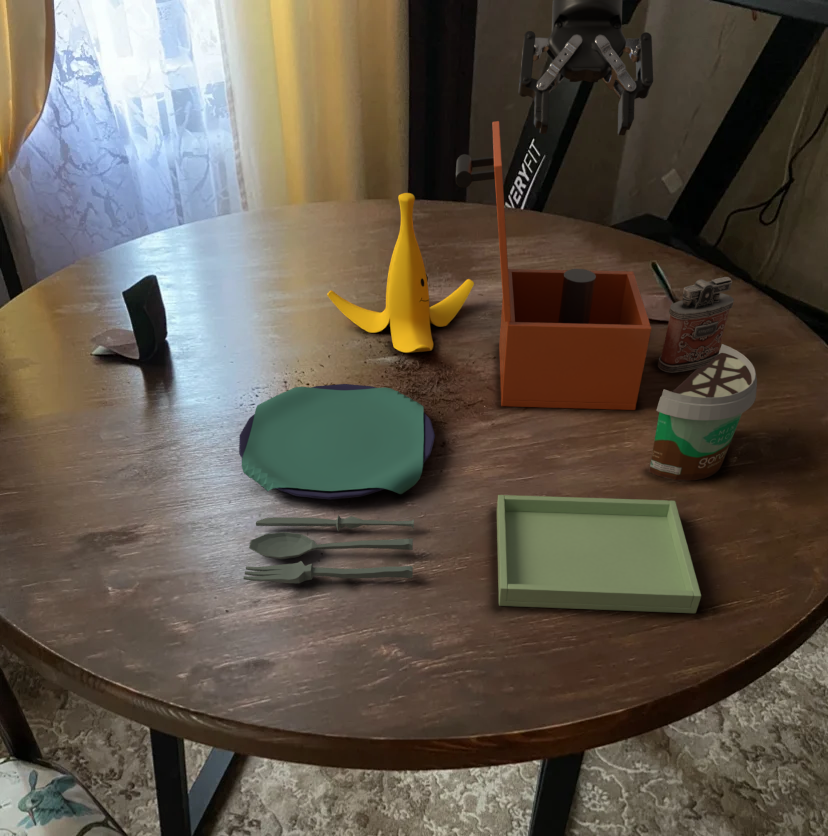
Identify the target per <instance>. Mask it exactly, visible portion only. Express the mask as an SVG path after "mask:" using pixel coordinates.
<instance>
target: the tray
mask: <svg viewBox="0 0 828 836" xmlns="http://www.w3.org/2000/svg"><path fill="white" fill-rule="evenodd" d="M496 538H497V539H496V541H497V542H496V545H497V580H498V581H497V582H498V584H497V585H498V588H497V589H498V607H499V606H500V607H518V608H519V607H521V608H548V609H572V610H573V609H574V610H575V609H577V610H596V611H597V610H598V611H626V612H646V613H647V612H648V613H649V612H651V613H674V614H675V613H676V614H677V613H678V614H697V611H698V608H699V605H700V601H701V598H702V594H701V590H700V586H699V582H698V579H697V575H696V572H695V567H694V564H693V560H692V557H691V553H690V549H689V546H688V542H687V538H686V535H685V532H684V528H683V524H682V520H681V516H680V514H679V509H678V505H677V502H676V500H667V499H665V500H664V499H638V498H637V499H635V498H608V497H575V496H574V497H573V496H547V495H546V496H545V495H544V496H543V495H518V494H517V495H516V494H498V495H497V502H496Z"/></svg>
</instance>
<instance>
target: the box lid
mask: <svg viewBox="0 0 828 836" xmlns="http://www.w3.org/2000/svg"><path fill="white" fill-rule="evenodd" d="M500 125H501V124H500V121H499V120H497V121H492V146H493V155H489V156H483V157H475V158H474V157H473V158H472V157H471V155H469V154H465V153H463V154H460V155H458V156H459V157H457V159H456V167H455V183H456V185H457V186H458V187H460V188H462V189H465V188H468V187H470V186H471V185H472V182H480V181H481V182H483V181H489V180H494V184H495V201H496V215H497V230H498V247H499V262H500V277H501V278H500V279H501V291H502V299H503V308H504V321H505V322H506V321H511V308H510V292H509V275H508V269H509V262H508V261H509V259H508V245H507V244H508V243H507V227H506V212H505V209H506V208H505V194H504V178H503V162H502V161H503V160H502V143H501V126H500ZM490 166H491V167H492V166H493V168H494V169H487V170H478V171H473V168H480V167H490Z"/></svg>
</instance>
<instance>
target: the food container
mask: <svg viewBox="0 0 828 836" xmlns="http://www.w3.org/2000/svg"><path fill="white" fill-rule="evenodd" d="M719 350H720V352H719V355H717V356H716V357H715V358H714V359H713V360H711V361H710V362H709V363H707V364H706V365H704V366H702V367H700V368H697V369H694V371H693V372H692V373H691V374H689V376H687V377H686V378H685V379H684V381H682V382H681V383H680V384H679V385H678V386H676V388H674V389H673V390H672V391H670V390H667V389H666V388H665V389H662V390H663V391H662V393H661V396H660V398H659V401H658V404H657V407H656V412H658V417H657V423H656V429H655V435H654V441H653V446H652V451H651V459H650V463H649V469H648V473H649V474H651V475H654V476H657V477H658V478H659V477H660V478H664V479H669V480H674V481H688V482H689V481H690V482H692V481H697V480H704V479H706V478H709V477H711V476H713V475H714V474H716V473H717V472H718V471H720V469H721V467H722V465H723V463H724V460H725V457H726V455H727V452H728V450H729V448H730V445H731V443H732V440H733V437H734V435H735V433H736V430H737V428H738V425H739V423H740V420H741V417H742V415H743V413H745V412H746V411H748V410H749V409H750V408H751V407H752V406H753V405H754V403H755V401H756V399H757V386H758V378H757V374H756V369H755V366H754V365H753V362H751V361H750V360H749V358H747V356H745V355H744V354H743V353H741V352H740V351H738V350H736V349H735V348H733V347H731V346H728V345H726V344H723V343H721V344H720V348H719Z"/></svg>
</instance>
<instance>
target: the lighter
mask: <svg viewBox="0 0 828 836" xmlns="http://www.w3.org/2000/svg"><path fill="white" fill-rule="evenodd" d="M732 284H733V280H732V279H731V278H730V277H729V276H724V277H723V276H722V277H719V278H715V279H714V278H713V279H711V280H710V281H707V280H705V279H702V278H701V279H697V280H696V281H695V282H694V284H693V285H688V286H684V287H683V291H682V295H681V296H682V299H681V300H678V301H676V302H674V303H671V304H670V307H669V310H668V314H669V319H668V323H667V329H666V332H665V338H664V342H663V346H662V352H661V355H660V356H659V358H658V363H657V367H658V369H660V370H661V371H663V372H665V373H669V374H670V373H680V372H687V371H692V370H697V369H699V368H700V367H702V366H704V365H706V364H707V363H709V362H710V361H711V360H713V359H714V358H715V357H716V356H717V355H719V352H720V349H721V345H722V340H723V336H724V332H725V329H726V325H727V321H728V318H729V314H730V310H731V309H732V308H733V306H734V302H735V299H734V297H732V296H731V295H730V294H727V293H726V292H728V291H729V292H730V291H731V288H732Z"/></svg>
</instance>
